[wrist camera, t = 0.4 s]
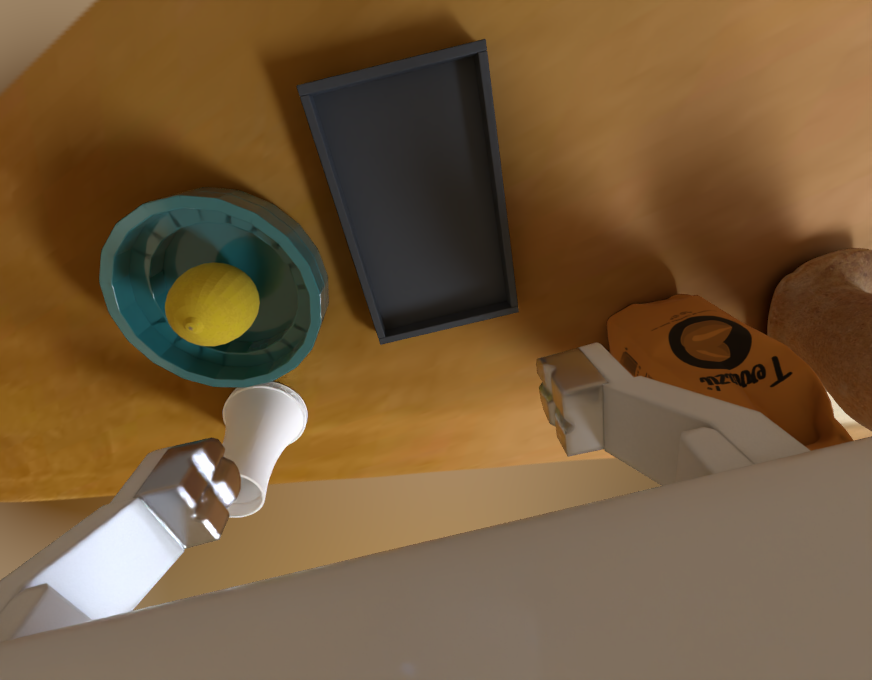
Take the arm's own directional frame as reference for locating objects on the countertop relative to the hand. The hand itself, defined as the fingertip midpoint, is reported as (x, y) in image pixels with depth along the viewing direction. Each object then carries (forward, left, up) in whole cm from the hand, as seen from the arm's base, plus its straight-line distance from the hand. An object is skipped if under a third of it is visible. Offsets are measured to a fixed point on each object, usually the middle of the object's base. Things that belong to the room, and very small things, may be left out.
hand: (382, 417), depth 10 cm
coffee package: (+18, +22, -24) cm, 37 cm away
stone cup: (+19, +37, -24) cm, 48 cm away
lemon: (+2, -13, -24) cm, 27 cm away
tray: (0, +3, -24) cm, 24 cm away
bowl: (+2, -13, -24) cm, 28 cm away
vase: (+15, -16, -24) cm, 33 cm away
